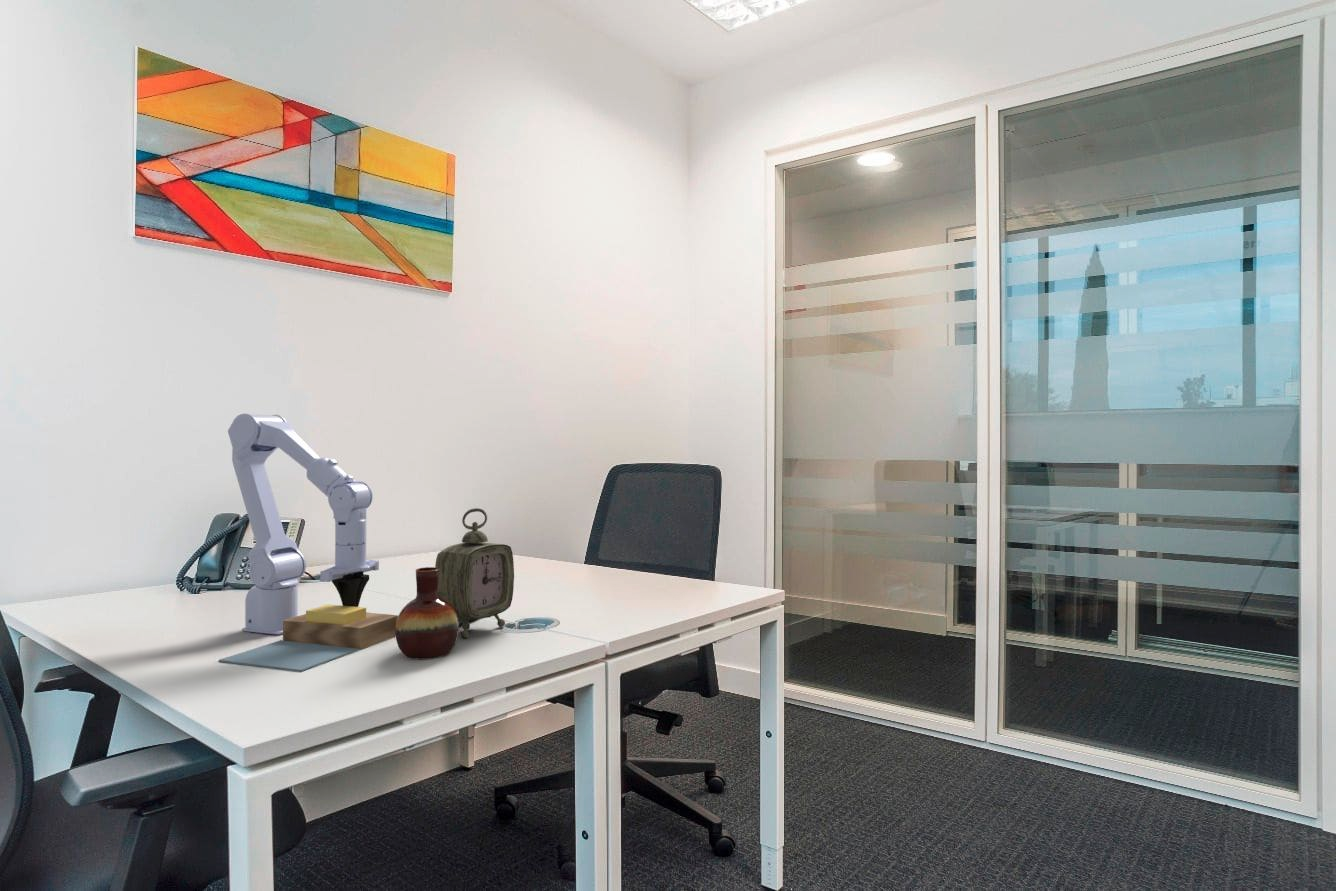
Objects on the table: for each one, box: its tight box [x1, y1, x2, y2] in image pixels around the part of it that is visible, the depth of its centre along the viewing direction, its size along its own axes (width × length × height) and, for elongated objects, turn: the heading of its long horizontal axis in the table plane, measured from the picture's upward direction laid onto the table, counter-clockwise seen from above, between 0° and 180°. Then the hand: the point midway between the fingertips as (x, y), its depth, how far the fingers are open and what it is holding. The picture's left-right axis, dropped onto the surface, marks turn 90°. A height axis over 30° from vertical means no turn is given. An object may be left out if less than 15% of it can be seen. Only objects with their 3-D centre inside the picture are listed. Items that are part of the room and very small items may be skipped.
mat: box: [218, 639, 360, 673], centre depth 142 cm, size 18×14×1 cm
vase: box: [395, 566, 460, 660], centre depth 144 cm, size 11×11×15 cm
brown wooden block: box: [282, 611, 399, 651], centre depth 154 cm, size 18×11×4 cm, turn 72°
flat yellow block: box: [305, 604, 367, 625], centre depth 153 cm, size 9×6×2 cm, turn 72°
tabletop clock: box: [434, 507, 515, 639], centre depth 160 cm, size 14×9×25 cm, turn 151°
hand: (350, 612), depth 156 cm, fingers closed
